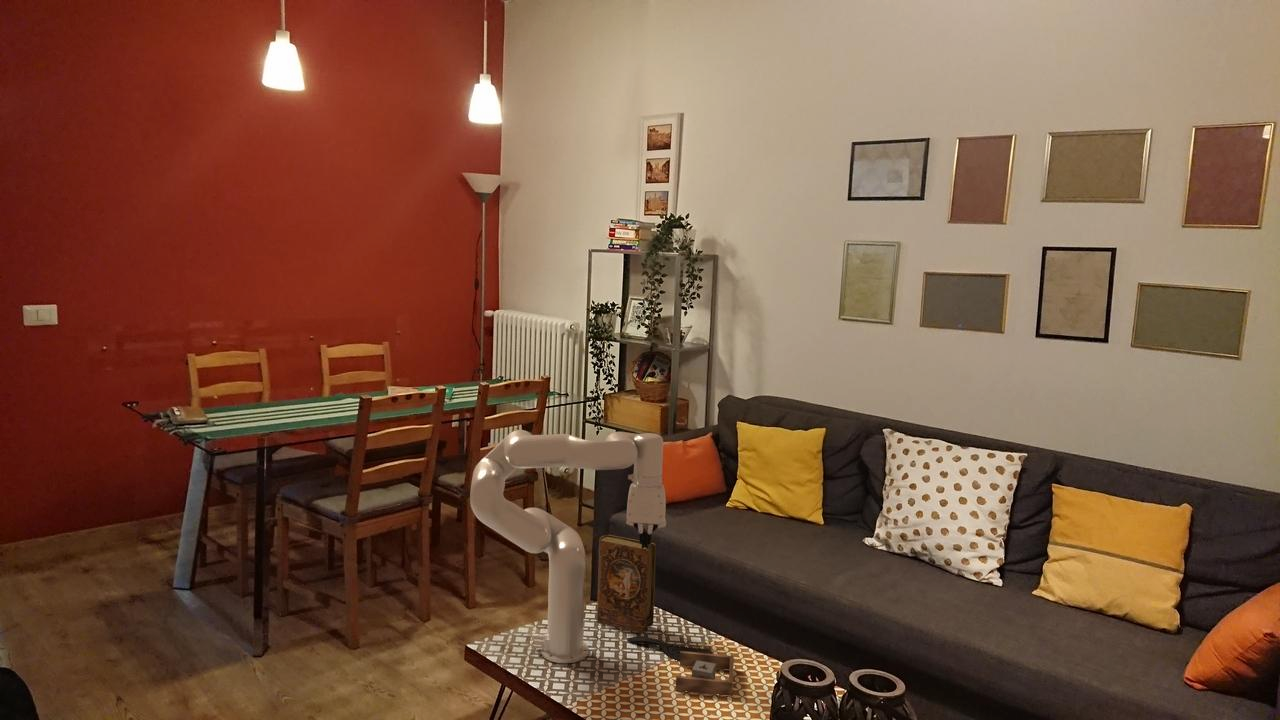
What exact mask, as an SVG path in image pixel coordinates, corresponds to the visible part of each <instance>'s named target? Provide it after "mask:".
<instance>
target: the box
mask: <svg viewBox="0 0 1280 720" xmlns="http://www.w3.org/2000/svg"><path fill="white" fill-rule="evenodd" d="M734 659H735V656H734V655H729V654H727V655H726V654H715V653H712V654H707V653H696V652H686V651H680V662H679V666H681V665H682V667H683V666H684V667H691V666H692V668H693V666H694V665H695V663H696V661H697V660H698V661H703V662H709V663H714V664H716V670H723V669H729V670H728V671H729V673H728V680H725V679H717V678H715V679H707V678H696V677H692V676H685V675H684V676H683V675H676V677H675V692H681V691H687V692H686V693H692V692H693V693H694V694H703V695H704V694H705V695H712V694H719V695H718V696H722V695H731V696H730V697H733V691H734V690H733V689H734V669H735V668H734V665H735V664H734V663H735V660H734Z"/></svg>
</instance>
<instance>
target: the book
mask: <svg viewBox="0 0 1280 720" xmlns="http://www.w3.org/2000/svg"><path fill="white" fill-rule="evenodd" d="M598 539H599V540H598V568H597V569H598V570H597V571H598V572H597V573H598V574H597V576H598V577H597V600H596V601H597V602H596V603H597V605H596V606H597V607H596V608H597V609H596V623H597V622H598V624H600V623H601V625H605V624H606V626H610V627H614V628H618V629H622V630H625V631H629V632H630V631H631V632H636V633H641V634H645V632H646V631H647V628H648V627H651V626H652V625H653V624H654V619H655V618H654V617H655V610H654V609H655V590H656V589H655V587H656V556H657V555H656V552H657V546H656V543H654V542H651V545H649V546H648V549H646V548H642V544H640V539H639V540H638V539H633V538H627V537H624V536H623V537H622V536H616V535H611V534H604V535H601V536H599V538H598Z"/></svg>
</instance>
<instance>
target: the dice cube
mask: <svg viewBox="0 0 1280 720" xmlns="http://www.w3.org/2000/svg"><path fill="white" fill-rule="evenodd" d="M716 670H717V669H716V664H714V663H709V662H703V661H698V660H697V661H696V663H695V665H694V666H693V667H692V668H691V677H696V678H707V679H716V674H717V673H716Z"/></svg>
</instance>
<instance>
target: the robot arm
mask: <svg viewBox="0 0 1280 720" xmlns="http://www.w3.org/2000/svg"><path fill="white" fill-rule="evenodd" d="M663 453H664V440H663V437H662V436H661V435H660V434H657V433H652V432H651V433H649V432H647V433H646V432H645V433H632V432H625V431H615V432H612V433H610V434H609V435H608V436H607V437H606V438H605V440H603V441H602V440H601V441H599V440H598V441H597V440H596V441H595V440H587V439H583V438H580V437H577V436H575V435H572V434H568V433H557V434H555V433H554V434H532V433H531V432H529V431H528V430H523V429H517V430H514V431H512V432H510V433H508V434H507V436H505V437H504V438H503V439H502V440H501V441H500V442H499V443H498V444H497V445H496V446H494V447H493V449H491V450H490V451H489V452H488V453H487V454H486V455H485V456H484V457H482V459H481V460H480V461H479V462H478V463H477V464H476V465H475V467H474V469H473V472H472V478H471V485H470V491H469V492H470V493H469V495H470V496H469V502H470V507H471V511H472V512H473V514H474V516H475V517H476V518H477V519H478V521H480V522H481V523H482V524H483V525H485V526H487V528H488V527H489V528H490V529H492V530H493V531H495V532H496V533H498V534H499V535H501V536H502V537H503V538H505V539H506V540H508V541H510V542H511V543H513V544H515V545H516V546H518V547H519V548H521V549H522V550H524V551H525V552H527V553H530V554H540V553H542V552H544V553H546V554H548V587H547V589H548V592H547V597H548V598H547V599H548V602H547V604H548V605H547V633H544V634H540V633H532V635H531V641H532V642H533V644H534V645H535V646H536V645H537V646H541V656H542V657H543V658H544V659H545V660H547V661H549V662H552V663H557V664H573V663H577V662H580V661H582V660H583V659H585V658H586V657H587V656H588V654H589V651H590V650H589V646H588V645H587V643H586V642H584V619H585V616H584V615H585V614H584V613H585V580H586V579H585V578H586V570H587V569H586V568H587V556H586V551H585V547H584V544H583V541H582V538H581V536H580V534H579V533H578V532H577V531H576V530H575V529H573V528H572V527H571V526H569V525H567V524H566V523H565V522H563V521H562V520H560V519H558V518H557V517H555V516H553V515H551V513H549V512H547V511H545V510H544V509H542V508H538V507H527V508H525V509H523V508H522V507H521V506H519V505H518V504H516V503H514V502H513V501H510V500H508V499H506V498H505V496H504V491H505V486H506V479H508V478H509V477H510V476H511V475H512V474H513V473H514V472H515V471H516V470H517V469H539V468H542V469H543V468H544V469H545V468H563V467H564V468H574V469H580V470H582V469H583V470H594V471H609V470H622V469H627V468H629V467H631V466H633V473H631V474H627V480H629V481H632V483H631V484H630V485H629V490H628V495H627V503H626V504H627V505H626V506H627V507H626V520H625V523H626V525H628V526H631V527H634V528H635V530H636V531H638V534H639V541H640V544H642V548H646V549H648V546H649V545H651V543H652V534H653V532H655V531H656V530H657V529H660V528H666V526H667V521H666V514H667V511H666V509H667V507H666V506H667V505H666V503H667V501H666V500H667V499H666V491H665V489H666V488H665V485H664V484H662V483H663V462H664V461H663V458H664V454H663ZM645 525H648V526H647V527H648V528H647V529H646V528H645Z"/></svg>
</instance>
